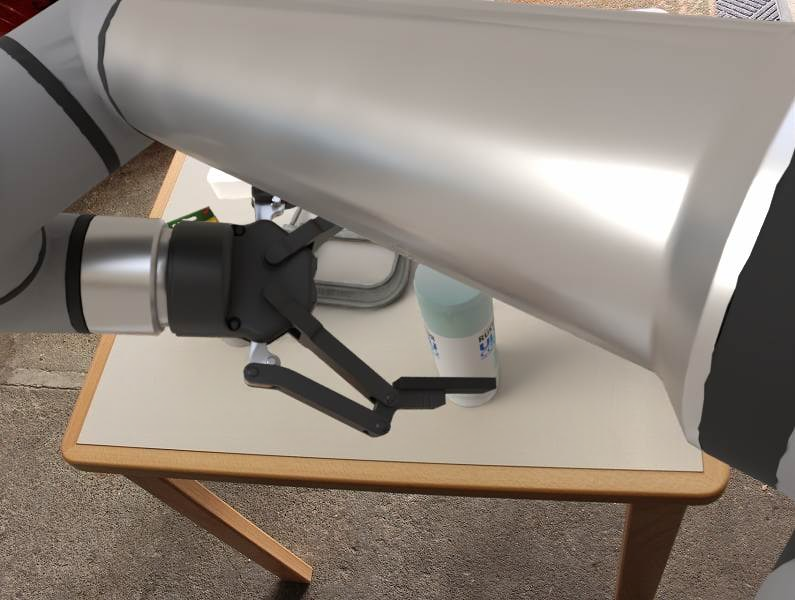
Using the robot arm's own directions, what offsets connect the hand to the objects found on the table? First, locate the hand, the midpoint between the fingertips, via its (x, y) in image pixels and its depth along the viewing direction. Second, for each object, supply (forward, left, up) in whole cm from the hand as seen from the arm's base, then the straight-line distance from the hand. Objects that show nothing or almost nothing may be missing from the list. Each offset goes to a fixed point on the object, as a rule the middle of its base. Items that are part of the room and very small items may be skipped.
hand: (483, 291), depth 44 cm
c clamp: (+31, +4, -25) cm, 40 cm away
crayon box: (+37, +20, -25) cm, 49 cm away
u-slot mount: (+51, +6, -25) cm, 57 cm away
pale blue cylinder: (+6, 0, -25) cm, 25 cm away
